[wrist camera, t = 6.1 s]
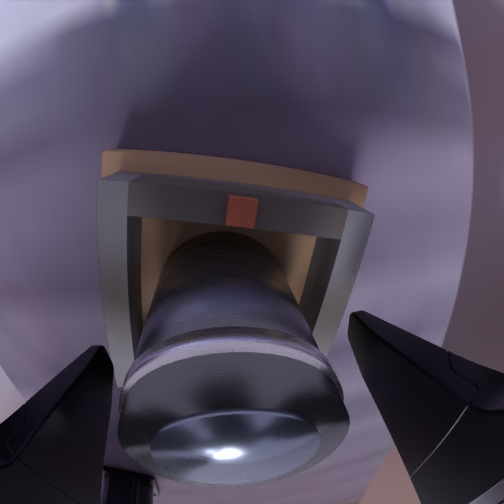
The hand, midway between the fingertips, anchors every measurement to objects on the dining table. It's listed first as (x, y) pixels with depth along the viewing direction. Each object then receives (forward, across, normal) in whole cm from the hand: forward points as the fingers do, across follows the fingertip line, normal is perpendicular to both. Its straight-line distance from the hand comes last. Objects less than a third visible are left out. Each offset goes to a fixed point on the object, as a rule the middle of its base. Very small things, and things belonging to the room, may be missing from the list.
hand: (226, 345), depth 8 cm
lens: (+3, 0, 0) cm, 3 cm away
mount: (+5, 0, 0) cm, 5 cm away
